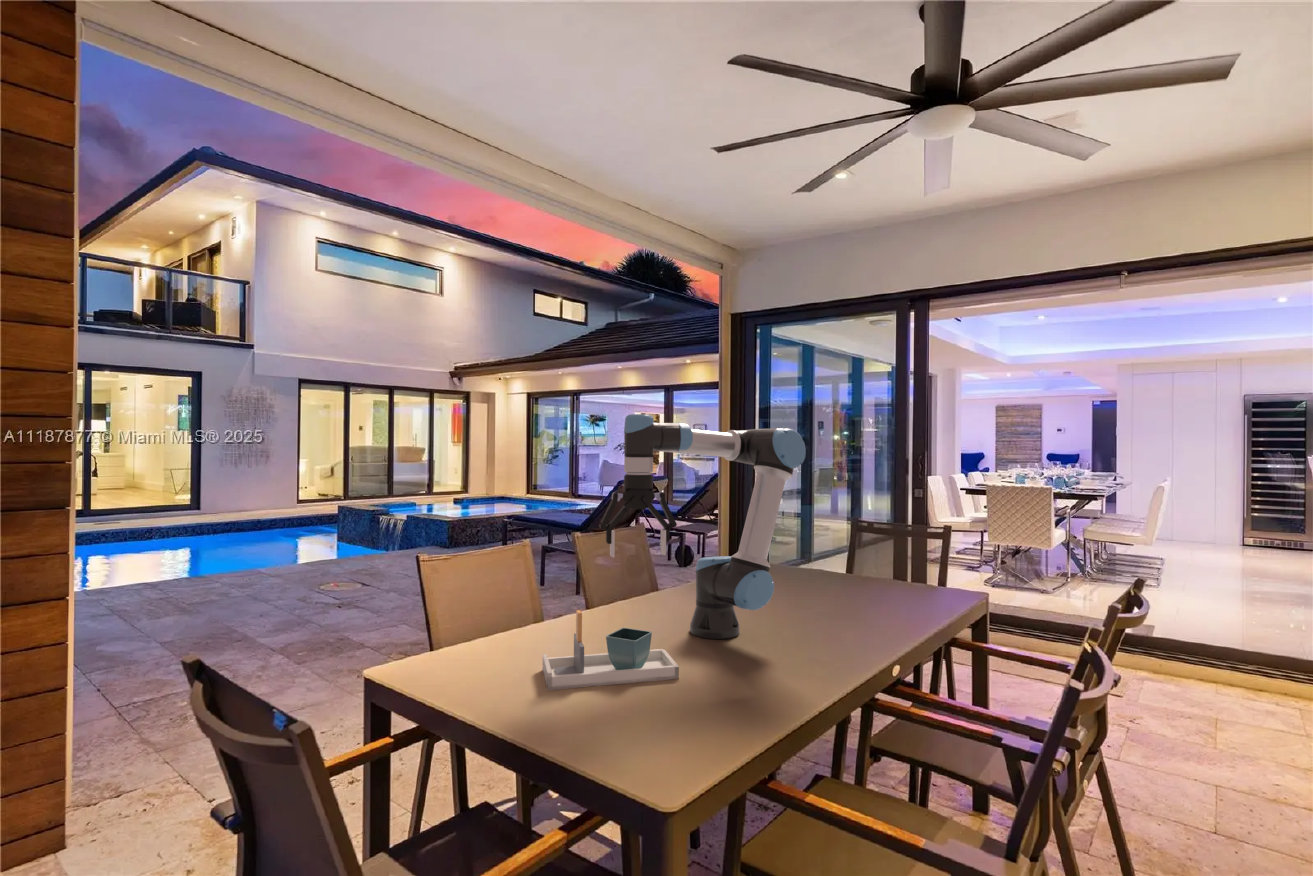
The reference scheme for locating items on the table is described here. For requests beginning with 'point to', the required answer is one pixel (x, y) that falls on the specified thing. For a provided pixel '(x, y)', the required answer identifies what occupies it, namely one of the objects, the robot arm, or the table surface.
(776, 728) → the table surface
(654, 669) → the white tray
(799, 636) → the table surface
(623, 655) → the flower pot
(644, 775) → the table surface
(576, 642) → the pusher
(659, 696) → the table surface
